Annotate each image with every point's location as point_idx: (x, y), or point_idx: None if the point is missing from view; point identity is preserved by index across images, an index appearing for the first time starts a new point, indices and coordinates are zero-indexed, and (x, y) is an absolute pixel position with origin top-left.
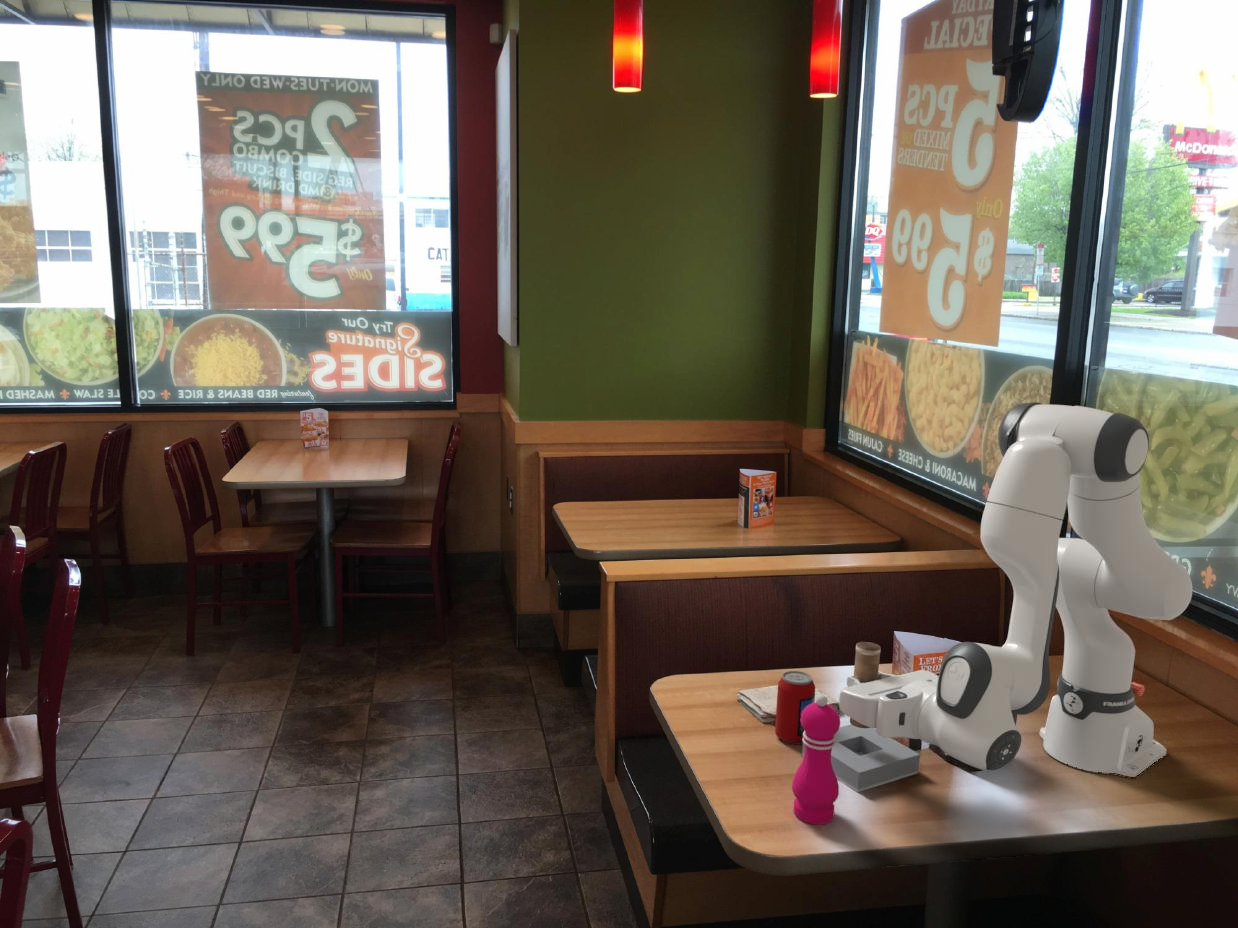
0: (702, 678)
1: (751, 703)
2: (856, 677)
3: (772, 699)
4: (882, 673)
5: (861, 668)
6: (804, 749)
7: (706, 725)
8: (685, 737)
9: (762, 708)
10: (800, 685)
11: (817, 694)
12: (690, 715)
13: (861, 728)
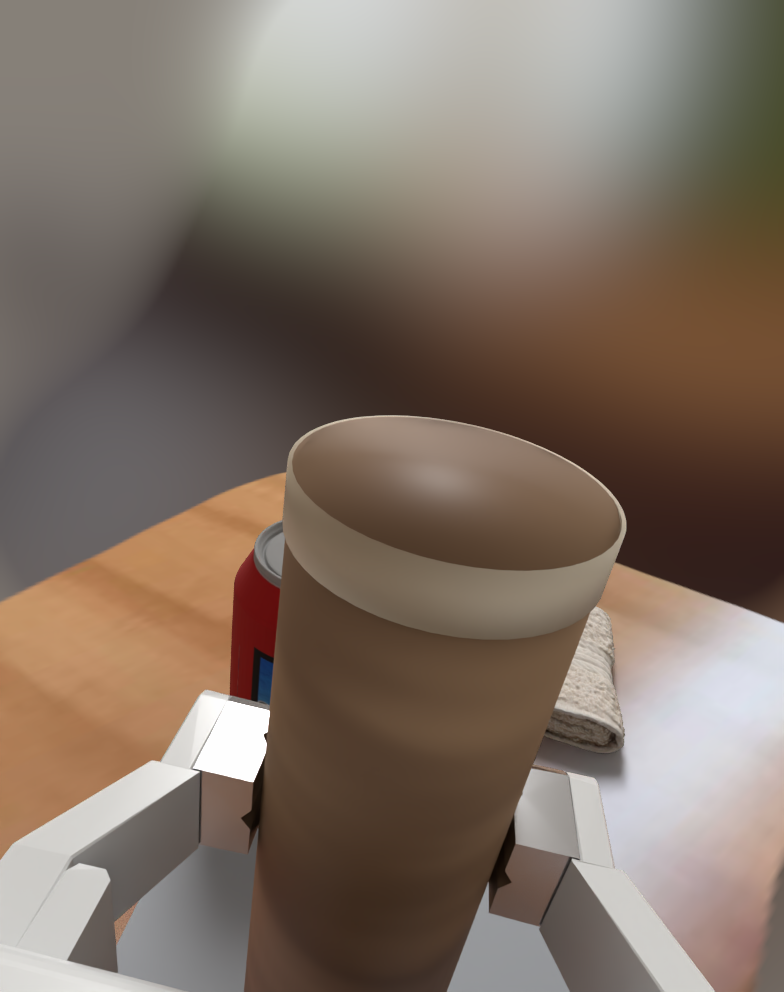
0: None
1: None
2: (245, 740)
3: None
4: (588, 858)
5: (271, 689)
6: None
7: (175, 581)
8: (62, 581)
9: None
10: (272, 589)
11: (576, 659)
12: (201, 542)
13: (505, 952)
